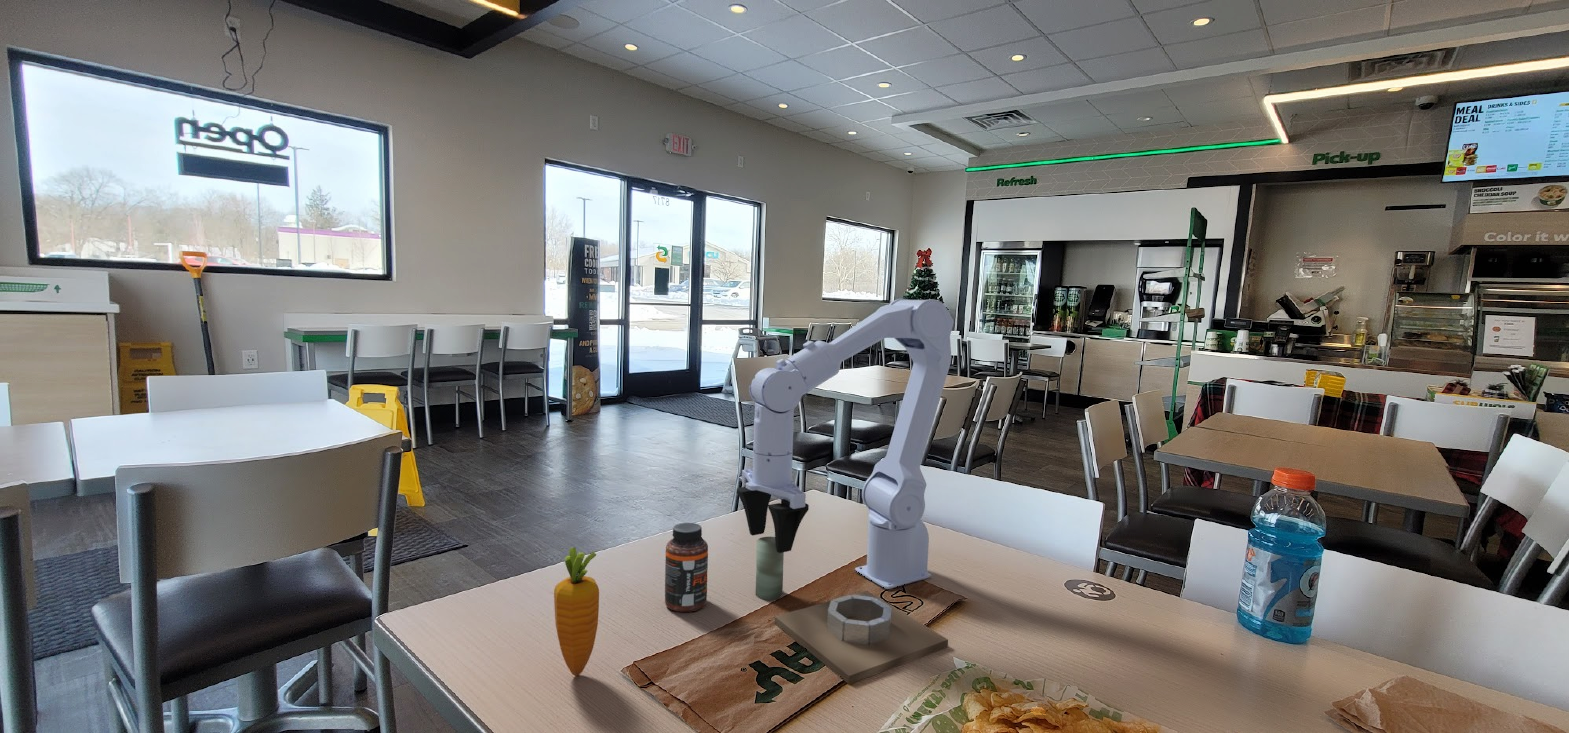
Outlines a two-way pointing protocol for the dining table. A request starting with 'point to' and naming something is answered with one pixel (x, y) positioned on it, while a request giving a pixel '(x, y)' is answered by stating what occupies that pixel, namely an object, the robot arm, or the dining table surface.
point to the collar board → (859, 658)
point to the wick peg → (769, 569)
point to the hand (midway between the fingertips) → (770, 542)
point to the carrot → (576, 612)
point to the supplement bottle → (686, 568)
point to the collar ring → (854, 628)
